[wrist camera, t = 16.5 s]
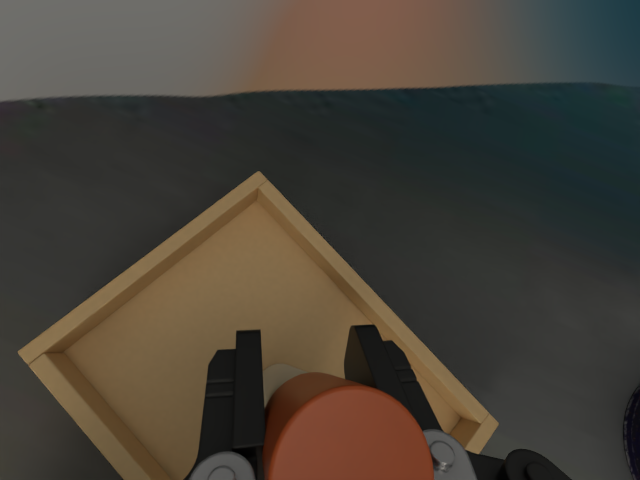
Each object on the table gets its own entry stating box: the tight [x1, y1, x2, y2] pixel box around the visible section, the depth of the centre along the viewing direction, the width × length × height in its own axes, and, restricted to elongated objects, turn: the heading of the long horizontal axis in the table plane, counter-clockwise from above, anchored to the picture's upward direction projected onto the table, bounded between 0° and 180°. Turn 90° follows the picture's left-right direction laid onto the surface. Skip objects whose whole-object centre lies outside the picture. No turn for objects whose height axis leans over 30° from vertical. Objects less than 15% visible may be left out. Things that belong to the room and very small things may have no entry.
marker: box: [262, 364, 434, 480], centre depth 13 cm, size 3×3×15 cm
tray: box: [18, 171, 499, 480], centre depth 19 cm, size 20×15×3 cm
